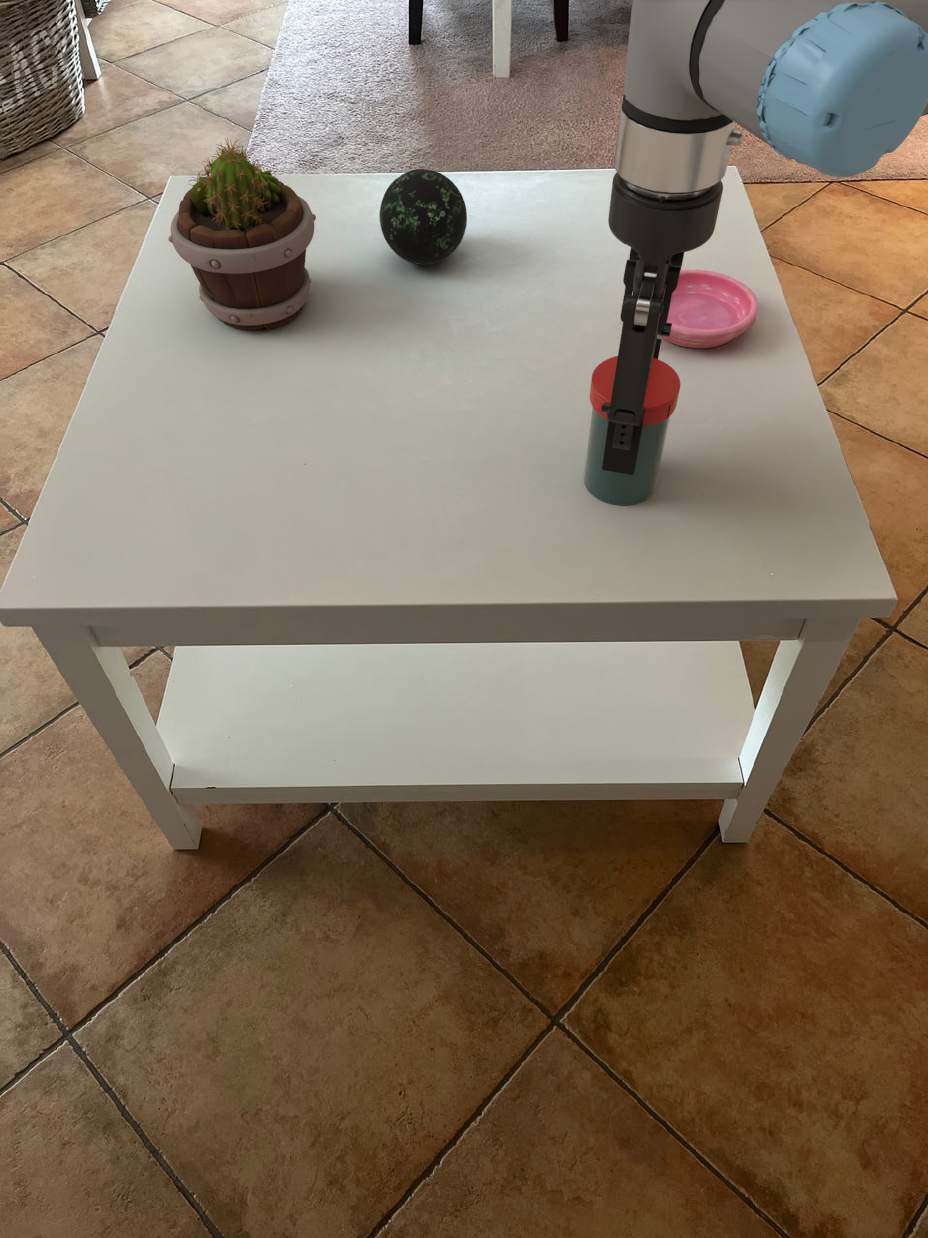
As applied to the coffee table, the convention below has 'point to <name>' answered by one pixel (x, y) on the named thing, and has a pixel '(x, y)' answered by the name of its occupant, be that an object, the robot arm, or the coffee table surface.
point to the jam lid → (658, 394)
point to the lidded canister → (621, 485)
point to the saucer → (709, 309)
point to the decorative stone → (423, 216)
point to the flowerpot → (245, 242)
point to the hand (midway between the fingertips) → (626, 434)
